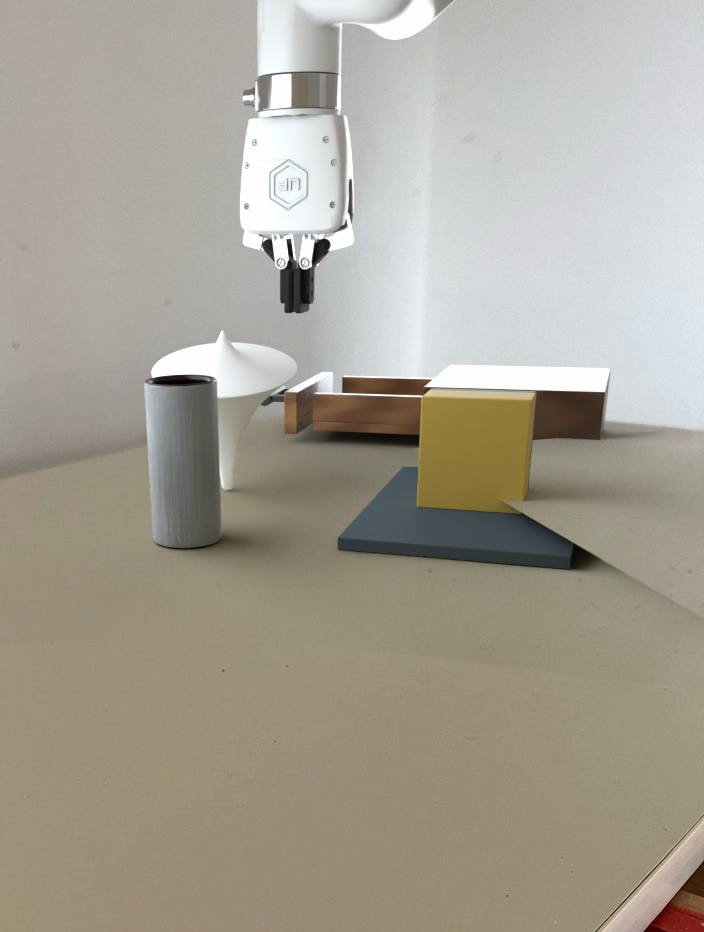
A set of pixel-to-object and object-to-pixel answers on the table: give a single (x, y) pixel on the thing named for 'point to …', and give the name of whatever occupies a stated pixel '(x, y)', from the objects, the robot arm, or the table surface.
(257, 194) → the robot arm
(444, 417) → the sponge
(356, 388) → the drawer
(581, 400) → the cabinet
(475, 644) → the table surface
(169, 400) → the planter
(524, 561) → the mat
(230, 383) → the white spinning top
